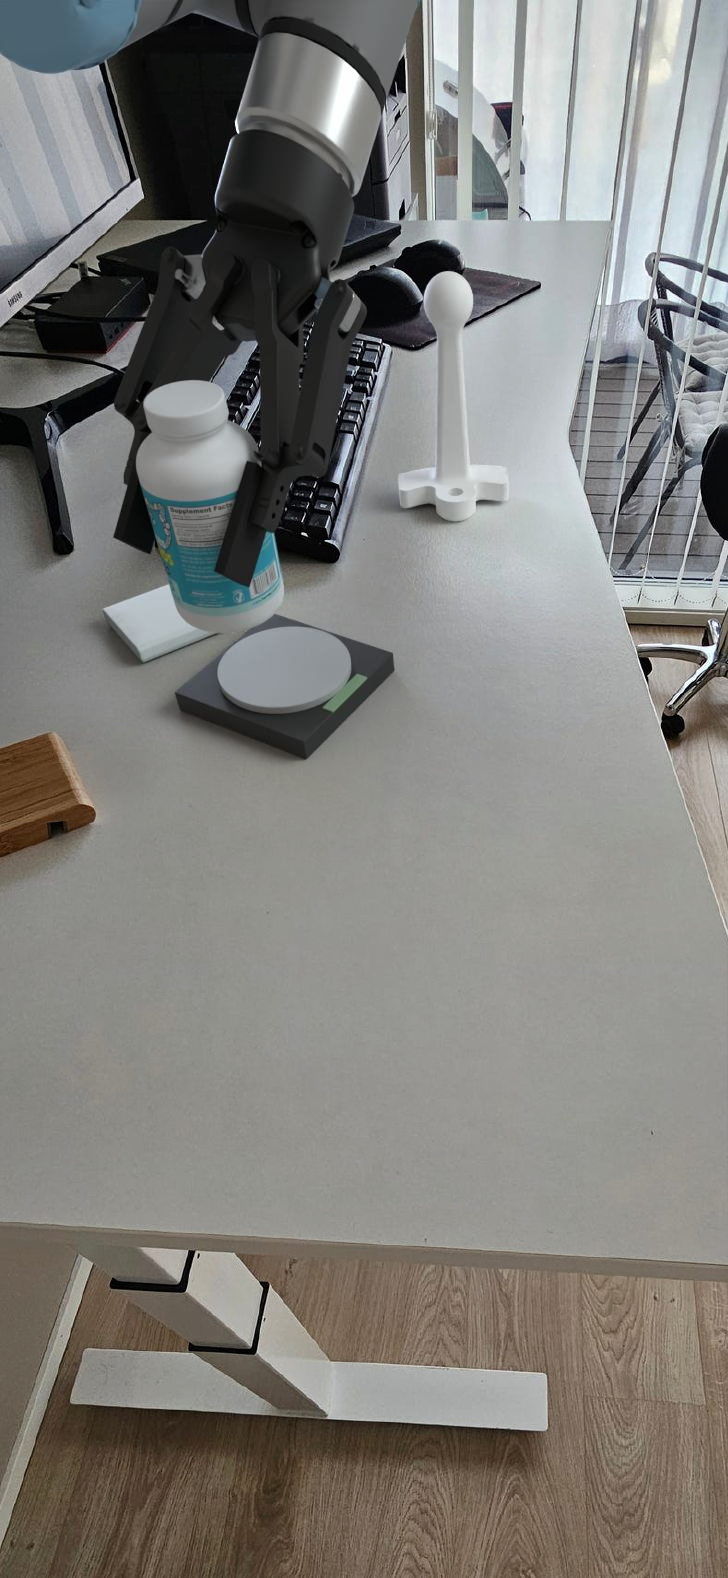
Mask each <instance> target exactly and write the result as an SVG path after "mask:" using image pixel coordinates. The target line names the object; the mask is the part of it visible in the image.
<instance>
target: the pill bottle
mask: <svg viewBox="0 0 728 1578" xmlns="http://www.w3.org/2000/svg"><path fill="white" fill-rule="evenodd" d="M143 406H144V411H145V415H146V419H147V423H148V426H149V428H150V429H151V431H152V433H151V434H150V435H148V436H147V438H146V439H145V440H144V441H143V442H142V444H141V446H140V448H139V450H138V453H137V457H136V469H137V474H138V477H139V481H140V485H141V488H142V492H143V495H144V498H145V502H146V505H147V509H148V512H149V516H150V519H151V523H152V526H153V529H154V533H155V541H156V543H157V547H158V551H159V553H160V554H159V555H160V557H161V560H162V564H163V568H164V571H165V575H166V578H167V579H166V580H167V582H168V584H169V586H170V589H171V593H172V596H173V600H174V603H175V606H176V609H177V611H178V613H179V614H180V616H181V617H182V618H183V619H184V620H185V621H186V622H187V623H188V624H190V625H191V626H193V627H195V628H198V629H200V630H203V631H207V632H214V633H216V634H229V633H230V634H231V633H237V632H238V633H239V632H243V631H248V630H249V629H250V628H253V627H255V626H258V625H260V624H262V623H263V622H265V621H267V620H268V619H269V618H271V617H272V616H273V615H274V614H277V612H278V611H279V609H280V608H281V607H282V604H283V601H284V597H285V585H284V579H283V574H282V568H281V563H280V557H279V552H278V546H277V541H276V536H275V532H274V533H270V532H266V535H265V539H264V542H263V545H262V548H261V552H260V555H259V558H258V561H257V565H256V568H255V571H254V574H253V578H252V581H251V584H250V587H246V586H243V585H240V584H238V583H236V582H234V581H232V580H230V579H228V578H226V577H224V576H222V575H221V574H219V573H217V572H215V571H214V569H215V566H216V562H217V559H218V556H219V552H220V549H221V546H222V542H223V539H224V536H225V532H226V529H227V526H228V522H229V519H230V515H231V512H232V509H233V505H234V502H235V499H236V495H237V492H238V489H239V485H240V482H241V479H242V475H243V472H244V469H245V465H246V462H247V461H250V462H254V463H257V464H258V465H260V466H261V467H263V465H262V464H263V463H262V462H261V461H259V460H258V459H257V458H256V457H255V455H254V451H256V452H257V453H258V450H259V447H258V444H257V442H256V441H255V439H254V437H253V436H252V434H251V433H250V432H249V431H247V430H246V429H245V428H244V427H242V426H241V425H239V424H238V423H235V422H234V421H231V420H229V414H230V412H229V411H230V410H229V408H228V407H229V406H228V403H227V399H226V394H225V392H224V390H223V389H222V387H221V386H219V385H218V384H216V383H213V382H211V381H210V382H207V381H200V380H188V381H179V382H174V383H170V384H167V385H164V386H161V387H159V388H157V389H155V390H153V391H152V392H150V393H149V394H148V395H147V396H146V397H145V399H144V402H143Z"/></svg>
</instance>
